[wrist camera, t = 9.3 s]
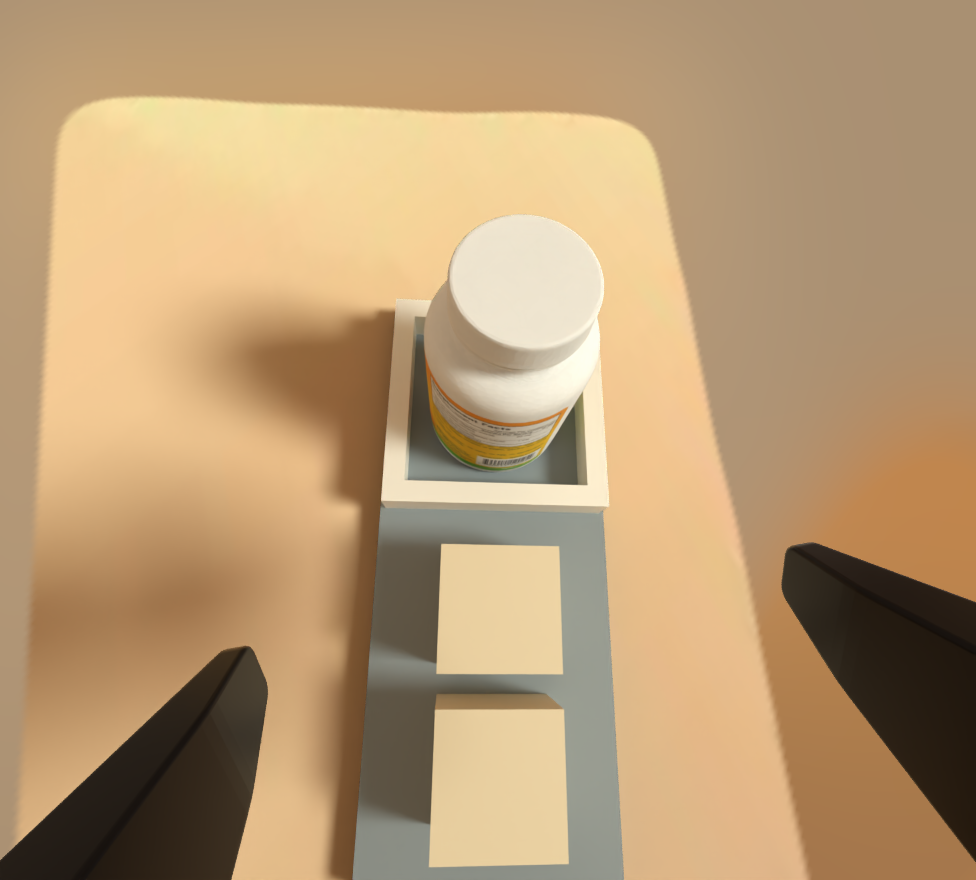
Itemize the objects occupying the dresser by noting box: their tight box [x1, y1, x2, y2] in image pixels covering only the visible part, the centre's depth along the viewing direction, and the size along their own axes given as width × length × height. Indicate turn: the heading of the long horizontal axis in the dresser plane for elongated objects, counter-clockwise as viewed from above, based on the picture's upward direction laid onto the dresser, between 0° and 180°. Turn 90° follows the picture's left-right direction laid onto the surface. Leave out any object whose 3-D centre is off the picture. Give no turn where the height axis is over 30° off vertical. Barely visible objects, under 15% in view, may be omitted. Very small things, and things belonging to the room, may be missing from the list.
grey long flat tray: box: [352, 299, 624, 880], centre depth 19 cm, size 22×9×4 cm, turn 179°
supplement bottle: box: [424, 214, 604, 472], centre depth 18 cm, size 5×5×10 cm
